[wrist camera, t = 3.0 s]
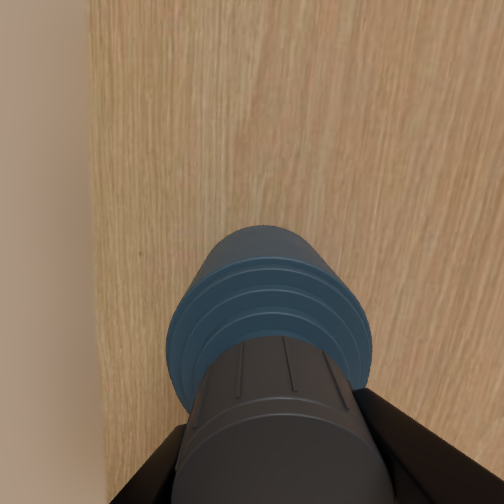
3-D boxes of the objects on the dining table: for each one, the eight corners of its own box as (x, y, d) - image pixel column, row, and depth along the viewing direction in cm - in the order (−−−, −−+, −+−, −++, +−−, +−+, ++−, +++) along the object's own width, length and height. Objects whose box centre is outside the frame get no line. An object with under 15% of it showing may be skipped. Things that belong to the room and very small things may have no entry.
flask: (216, 356, 18) (158, 629, 7) (185, 240, 17) (51, 359, 6) (335, 332, 18) (470, 582, 7) (314, 212, 17) (442, 280, 5)
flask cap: (355, 458, 9) (400, 583, 6) (211, 474, 9) (192, 603, 6) (343, 324, 8) (390, 400, 5) (183, 345, 8) (148, 429, 5)
